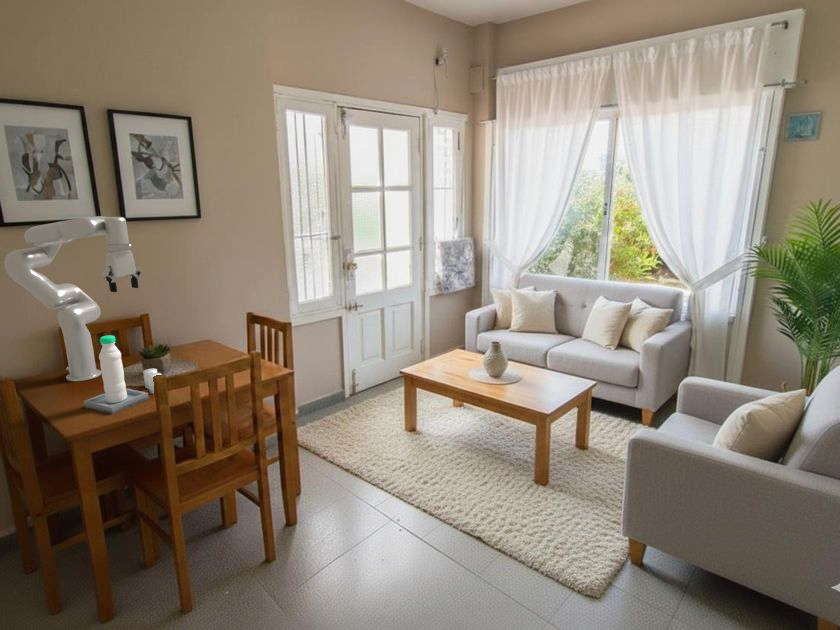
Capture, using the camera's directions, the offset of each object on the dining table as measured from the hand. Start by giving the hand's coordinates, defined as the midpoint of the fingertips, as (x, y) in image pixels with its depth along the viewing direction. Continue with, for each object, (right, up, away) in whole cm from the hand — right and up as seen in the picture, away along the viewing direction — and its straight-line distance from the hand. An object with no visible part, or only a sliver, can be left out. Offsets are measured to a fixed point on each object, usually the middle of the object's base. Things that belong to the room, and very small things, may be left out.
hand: (124, 289), depth 210 cm
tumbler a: (+16, -41, -6) cm, 44 cm away
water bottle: (+7, -43, -17) cm, 47 cm away
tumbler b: (+12, -40, -1) cm, 41 cm away
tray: (+7, -44, -17) cm, 47 cm away
